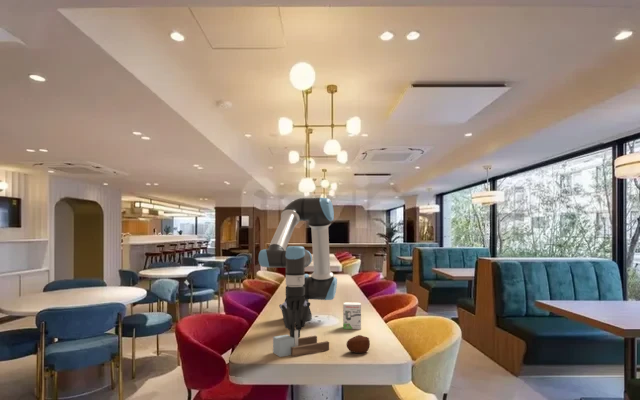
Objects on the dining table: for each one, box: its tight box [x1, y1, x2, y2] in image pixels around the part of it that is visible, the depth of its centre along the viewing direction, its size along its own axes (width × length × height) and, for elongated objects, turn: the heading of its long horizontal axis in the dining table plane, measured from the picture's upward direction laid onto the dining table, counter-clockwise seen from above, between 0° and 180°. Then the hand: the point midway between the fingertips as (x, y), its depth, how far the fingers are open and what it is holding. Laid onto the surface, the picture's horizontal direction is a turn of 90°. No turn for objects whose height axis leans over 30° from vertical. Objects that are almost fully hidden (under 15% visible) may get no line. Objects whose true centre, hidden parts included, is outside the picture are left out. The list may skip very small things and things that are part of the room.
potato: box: [345, 334, 371, 354], centre depth 153 cm, size 7×9×6 cm
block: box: [272, 334, 294, 358], centre depth 152 cm, size 6×6×6 cm
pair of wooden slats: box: [290, 335, 330, 357], centre depth 157 cm, size 11×16×3 cm
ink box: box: [342, 301, 362, 330], centre depth 191 cm, size 9×5×12 cm, turn 88°
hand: (294, 346), depth 154 cm, fingers closed
